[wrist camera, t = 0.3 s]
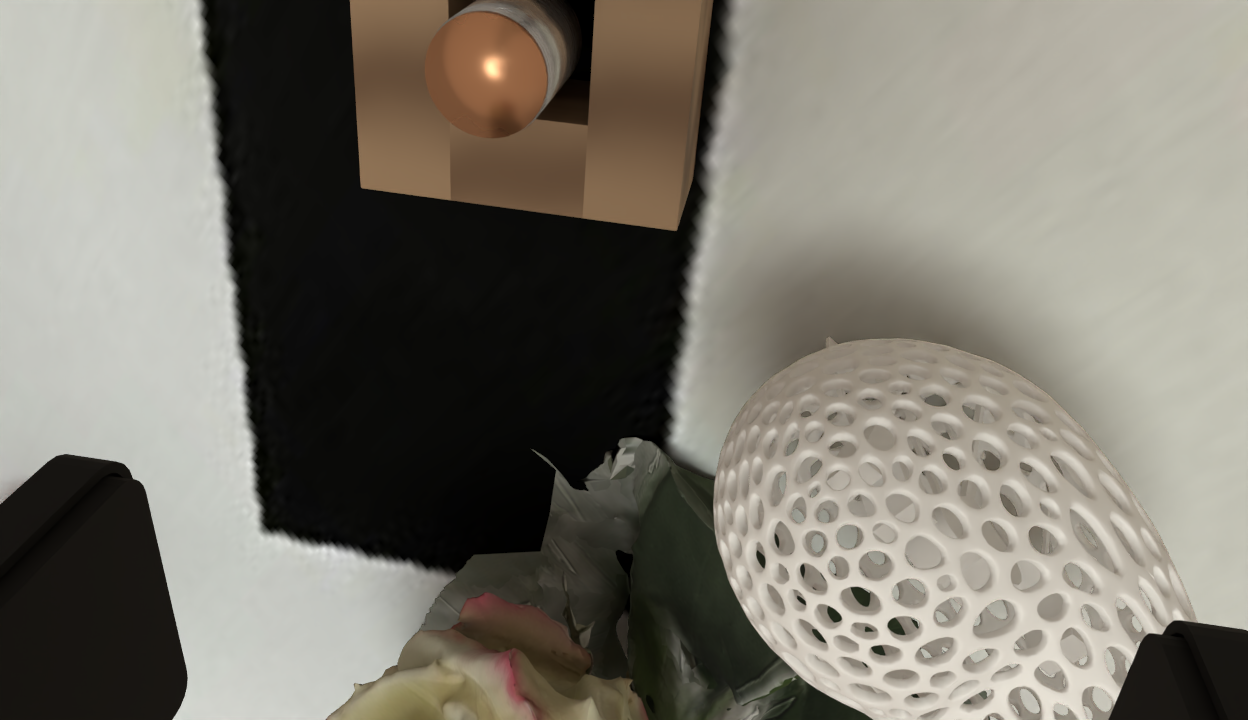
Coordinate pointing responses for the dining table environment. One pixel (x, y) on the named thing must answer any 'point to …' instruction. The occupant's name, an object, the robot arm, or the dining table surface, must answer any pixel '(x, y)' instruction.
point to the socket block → (542, 117)
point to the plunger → (502, 63)
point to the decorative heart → (936, 536)
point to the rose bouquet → (602, 619)
